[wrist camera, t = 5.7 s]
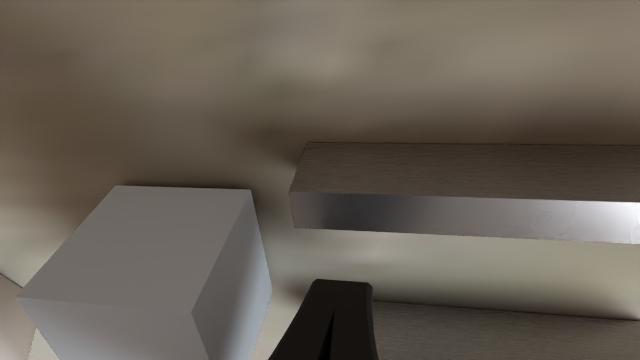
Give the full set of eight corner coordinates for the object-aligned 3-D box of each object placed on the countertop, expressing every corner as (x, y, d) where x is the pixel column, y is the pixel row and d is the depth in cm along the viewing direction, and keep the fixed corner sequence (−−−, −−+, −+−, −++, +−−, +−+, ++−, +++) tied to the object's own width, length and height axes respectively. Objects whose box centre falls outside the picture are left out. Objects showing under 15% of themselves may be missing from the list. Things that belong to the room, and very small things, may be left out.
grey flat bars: (732, 147, 9) (797, 208, 8) (631, 343, 13) (661, 411, 12) (307, 142, 11) (288, 191, 9) (328, 317, 15) (318, 373, 13)
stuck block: (250, 189, 12) (190, 312, 9) (272, 291, 14) (231, 417, 11) (115, 185, 13) (14, 297, 9) (157, 282, 15) (87, 398, 12)
